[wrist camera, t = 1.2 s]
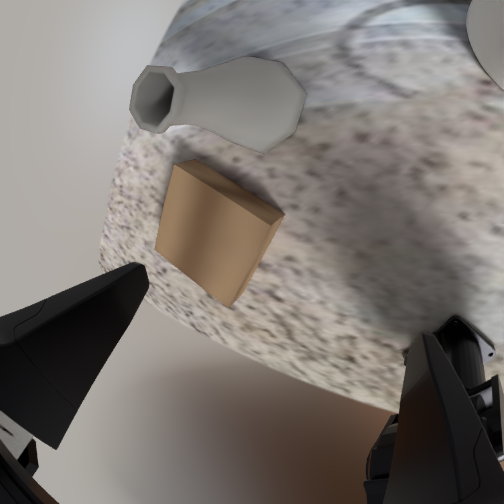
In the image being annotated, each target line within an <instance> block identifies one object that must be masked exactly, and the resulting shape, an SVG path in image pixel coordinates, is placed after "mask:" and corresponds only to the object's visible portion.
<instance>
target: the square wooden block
mask: <svg viewBox="0 0 504 504" xmlns="http://www.w3.org/2000/svg"><path fill="white" fill-rule="evenodd" d="M284 216H285V214H283V213H282V212H280V211H279V210H277V209H276V208H274V207H273V206H271V205H269V204H268V203H266V202H265V201H263V200H262V199H260V198H258V197H257V196H255V195H254V194H252V193H250V192H249V191H247V190H246V189H244V188H242V187H241V186H239V185H238V184H236V183H234V182H233V181H231V180H229V179H228V178H226V177H224V176H223V175H221V174H219V173H218V172H216V171H214V170H213V169H211V168H209V167H208V166H206V165H204V164H203V163H201V162H199V161H197V160H196V159H194V160H190V161H185V162H181V163H177V164H174V167H173V171H172V174H171V178H170V182H169V186H168V190H167V194H166V198H165V203H164V207H163V211H162V216H161V220H160V225H159V230H158V234H157V239H156V244H155V250H156V251H157V252H158V253H159V254H161V255H162V256H163V257H164V258H165V259H167V260H168V261H169V262H170V263H172V264H173V265H174V266H175V267H177V268H178V269H179V270H180V271H182V272H183V273H184V274H185V275H187V276H188V277H189V278H190V279H192V280H193V281H194V282H195V283H197V284H198V285H199V286H201V287H202V288H203V289H204V290H206V291H207V292H208V293H210V294H211V295H212V296H214V297H215V298H216V299H217V300H219V301H220V302H221V303H223V304H224V305H225V306H227V307H228V308H229V307H230V306H231V305H232V304H233V303H234V302H235V301H236V300H237V299H238V298H239V297H240V296H241V295H242V294H243V292H244V290H245V289H246V287H247V285H248V283H249V281H250V279H251V278H252V276H253V274H254V272H255V270H256V268H257V266H258V265H259V263H260V261H261V259H262V257H263V255H264V253H265V251H266V250H267V248H268V246H269V244H270V242H271V240H272V238H273V236H274V235H275V233H276V231H277V229H278V227H279V225H280V223H281V221H282V220H283V218H284Z"/></svg>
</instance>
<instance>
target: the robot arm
mask: <svg viewBox="0 0 504 504" xmlns="http://www.w3.org/2000/svg"><path fill="white" fill-rule="evenodd" d="M148 288H149V279H148V276H147V272H146V268H145V266H144V265H143V264H140V263H137V262H132V263H129V264H127V265H124V266H122V267H119V268H117V269H115V270H112V271H110V272H107V273H105V274H102V275H100V276H98V277H95V278H93V279H90V280H88V281H86V282H84V283H81V284H79V285H76V286H74V287H72V288H69V289H67V290H65V291H62V292H60V293H58V294H56V295H53V296H51V297H49V298H46V299H44V300H42V301H40V302H37V303H35V304H33V305H30V306H28V307H25V308H23V309H20V310H17V311H15V312H12V313H9V314H7V315H4V316H1V317H0V504H59V503H58V502H57V501H56V500H55V499H54V498H53V497H51V496H50V495H49V494H48V493H47V492H46V491H45V490H44V489H43V488H42V487H41V486H40V485H39V484H38V483H37V482H36V481H35V480H34V479H33V478H32V476H33V475H34V473H35V472H36V470H37V469H38V467H39V465H38V459H37V450H36V441H35V440H34V439H33V436H35V437H36V438H38V439H39V440H41V441H42V442H44V443H45V444H47V445H49V446H50V447H52V448H53V449H55V450H57V448H58V447H59V445H60V443H61V441H62V439H63V437H64V435H65V433H66V431H67V429H68V428H69V426H70V424H71V422H72V420H73V418H74V416H75V415H76V413H77V411H78V409H79V407H80V405H81V404H82V402H83V400H84V398H85V397H86V395H87V393H88V391H89V390H90V388H91V386H92V384H93V383H94V381H95V379H96V378H97V376H98V374H99V372H100V371H101V369H102V368H103V366H104V364H105V363H106V361H107V359H108V358H109V356H110V355H111V353H112V351H113V349H114V348H115V346H116V345H117V343H118V342H119V340H120V339H121V337H122V335H123V334H124V332H125V331H126V329H127V328H128V326H129V324H130V322H131V321H132V319H133V317H134V315H135V313H136V311H137V309H138V308H139V305H140V304H141V302H142V300H143V298H144V296H145V294H146V293H147V291H148ZM454 321H457V322H456V323H453V322H454ZM491 352H492V353H491ZM489 353H490V354H489ZM495 354H496V352H495V348H494V347H493V346H492V345H491V344H490V343H489V342H487V341H486V340H485V339H484V338H483V337H482V336H481V335H480V334H479V333H478V332H476V331H475V330H474V329H473V328H472V327H471V326H470V325H469V324H467V323H466V322H465V321H464V320H463V319H462V318H460V317H459V316H457V315H455V316H452V317H451V318H450V319H449V320H448V321H447V322H446V323H445V324H444V325H443V326H442V327H441V328H439V329H438V330H437V331H436V332H434V333H433V334H430V333H424V332H422V333H420V334H419V335H418V337H417V338H416V340H415V342H414V343H413V345H412V346H411V348H410V350H409V352H408V356H407V357H406V358H405V360H404V365H405V366H406V370H405V376H404V383H403V388H402V394H401V400H400V408H399V414H395V415H391V416H390V418H389V420H388V422H387V424H386V425H385V427H384V429H383V431H382V432H381V434H380V436H379V438H378V439H377V441H376V443H375V444H374V446H373V447H372V449H371V451H370V453H369V456H368V458H367V464H366V478H367V480H365V481H364V488H365V491H366V494H367V504H504V471H503V469H502V467H501V465H500V463H499V462H502V461H504V394H503V390H502V386H501V383H500V379H499V376H498V374H497V375H495V376H493V377H491V379H490V380H488V381H486V380H485V372H484V364H486V363H487V362H488V361H489V360H491V359H492V358H493V357H494V356H495Z"/></svg>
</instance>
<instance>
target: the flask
mask: <svg viewBox="0 0 504 504" xmlns="http://www.w3.org/2000/svg"><path fill="white" fill-rule="evenodd" d="M306 95H307V93H306V92H305V90H304V89H303V88H302V86H301V85H300V84H299V83H298V81H297V80H296V79H295V77H294V76H293V75H292V74H291V73H290V71H289V70H288V69H287V68H286V66H285V65H284V64H283V63H281V62H276V61H271V60H266V59H261V58H256V57H250V56H245V57H241V58H238V59H235V60H232V61H229V62H226V63H224V64H220V65H217V66H214V67H210V68H207V69H204V70H201V71H194V72H185V73H176V71H175V70H174V69H173V68H171V67H166V66H151V65H148V66H147V67H146V68H145V69H144V70H143V72H142V73H141V74H140V76H139V77H138V79H137V80H136V81H135V83H134V85H133V89H132V95H131V101H130V108H129V110H130V112H131V114H132V116H133V117H134V119H135V121H136V123H137V124H138V126H139V128H140V129H144V130H147V131H150V132H153V133H156V134H162V133H164V132H165V131H166V130H167V129H168V128H169V127H170V126H173V125H193V126H198V127H202V128H204V129H206V130H209V131H211V132H213V133H215V134H217V135H218V136H220V137H222V138H224V139H226V140H228V141H230V142H232V143H235V144H238V145H241V146H244V147H246V148H249V149H252V150H255V151H257V152H260V153H263V154H265V153H266V152H268V151H269V150H271V149H272V148H273V147H275V146H276V145H277V144H279V143H280V142H282V141H283V140H285V139H286V138H287V137H289V136H290V135H292V134H293V133H295V131H296V127H297V124H298V121H299V118H300V115H301V111H302V108H303V105H304V102H305V98H306Z"/></svg>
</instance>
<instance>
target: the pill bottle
mask: <svg viewBox="0 0 504 504" xmlns="http://www.w3.org/2000/svg"><path fill="white" fill-rule="evenodd" d="M466 27H467V34H468V38H469V41H470V44H471V46H472V49H473V51H474V53H475V55H476V57H477V59H478V60H479V62H480V64H481V65H482V67H483V68H484V69H485V71H486V72H487V73H488V75H489V76H490V77H491V78H492V79H493V80H494V81H495V82H496V84H497V85H499V86H500V87H501V88H502V89H503V90H504V0H472V2H471V4H470V6H469V8H468V12H467V18H466Z"/></svg>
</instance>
